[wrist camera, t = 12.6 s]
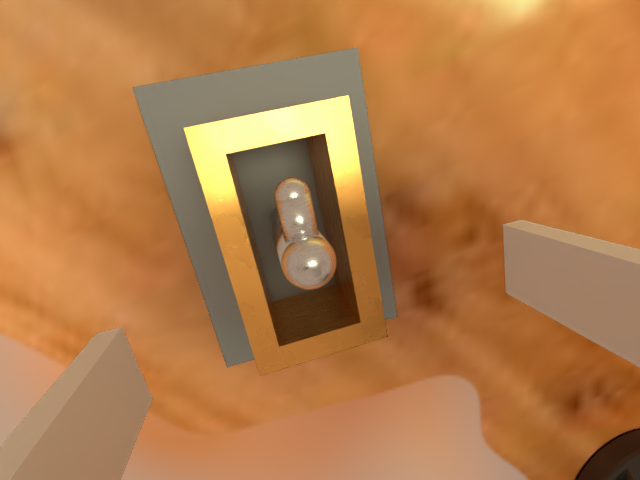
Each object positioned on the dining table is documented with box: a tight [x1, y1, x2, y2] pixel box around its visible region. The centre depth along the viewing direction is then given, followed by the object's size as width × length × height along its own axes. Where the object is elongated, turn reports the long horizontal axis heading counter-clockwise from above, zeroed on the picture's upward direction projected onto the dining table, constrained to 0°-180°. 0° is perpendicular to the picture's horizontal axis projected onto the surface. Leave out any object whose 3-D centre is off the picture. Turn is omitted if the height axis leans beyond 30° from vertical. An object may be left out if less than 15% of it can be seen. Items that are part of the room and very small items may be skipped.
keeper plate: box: [133, 48, 397, 367], centre depth 24 cm, size 20×14×1 cm
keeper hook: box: [269, 177, 337, 290], centre depth 19 cm, size 5×2×10 cm, turn 12°
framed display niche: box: [184, 95, 388, 376], centre depth 21 cm, size 14×8×6 cm, turn 12°
